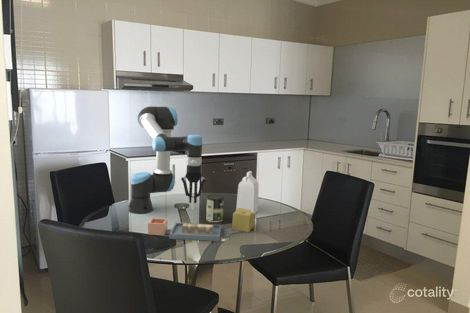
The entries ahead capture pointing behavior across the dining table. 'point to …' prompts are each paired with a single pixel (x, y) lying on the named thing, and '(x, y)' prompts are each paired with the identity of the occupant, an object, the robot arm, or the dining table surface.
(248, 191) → the milk
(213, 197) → the coffee can
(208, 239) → the slate tray
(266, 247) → the dining table surface
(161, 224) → the pink open cubby
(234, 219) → the cheese
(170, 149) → the robot arm
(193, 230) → the light wooden bar
